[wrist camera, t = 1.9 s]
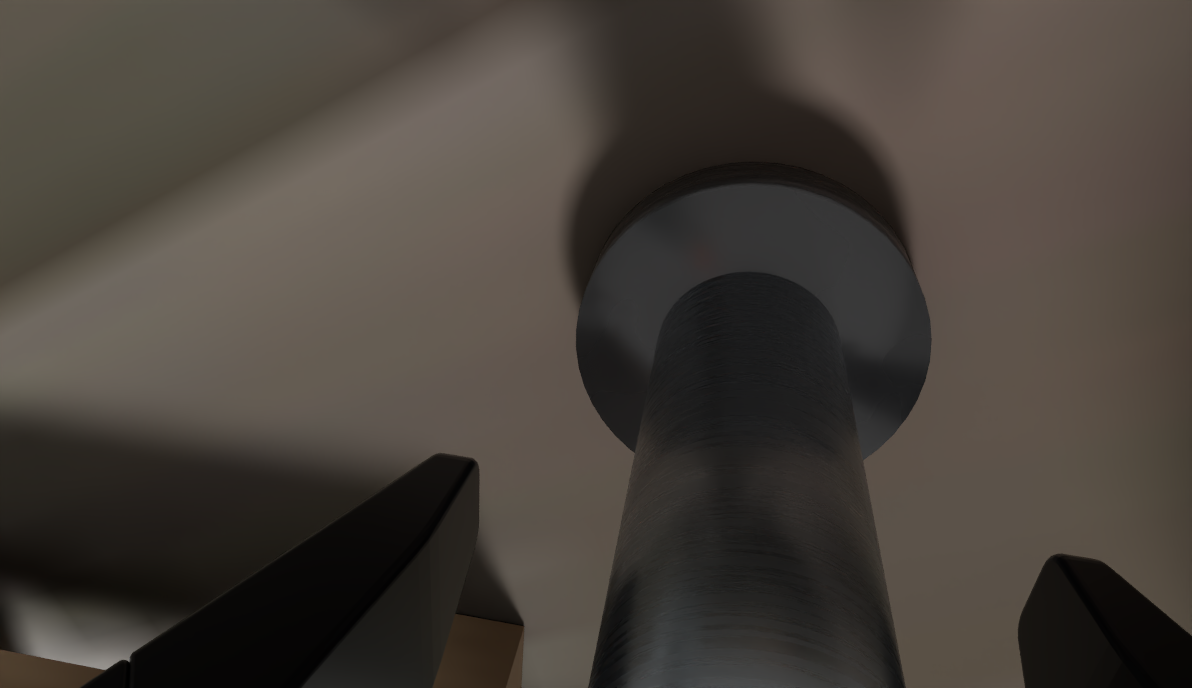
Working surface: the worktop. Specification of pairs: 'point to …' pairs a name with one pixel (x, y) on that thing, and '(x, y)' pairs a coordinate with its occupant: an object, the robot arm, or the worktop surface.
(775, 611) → the tee peg
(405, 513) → the robot arm
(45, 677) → the keyhole board
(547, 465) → the worktop surface
